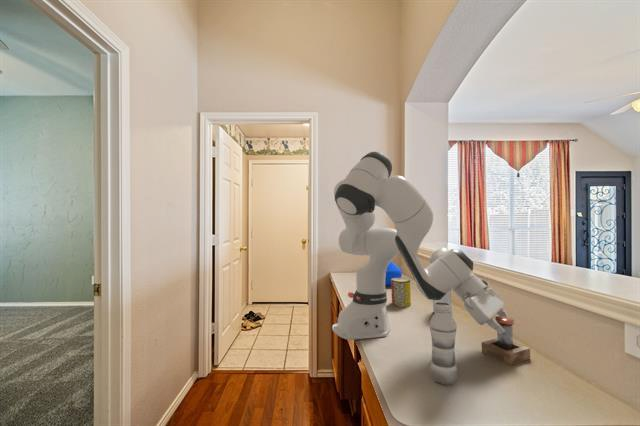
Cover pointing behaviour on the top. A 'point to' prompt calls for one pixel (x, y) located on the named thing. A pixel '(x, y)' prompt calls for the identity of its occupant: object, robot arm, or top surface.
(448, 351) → the plastic bottle
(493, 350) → the collar
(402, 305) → the beverage can
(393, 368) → the top surface
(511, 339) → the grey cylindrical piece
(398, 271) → the vase
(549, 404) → the top surface
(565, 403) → the top surface
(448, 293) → the skincare box
